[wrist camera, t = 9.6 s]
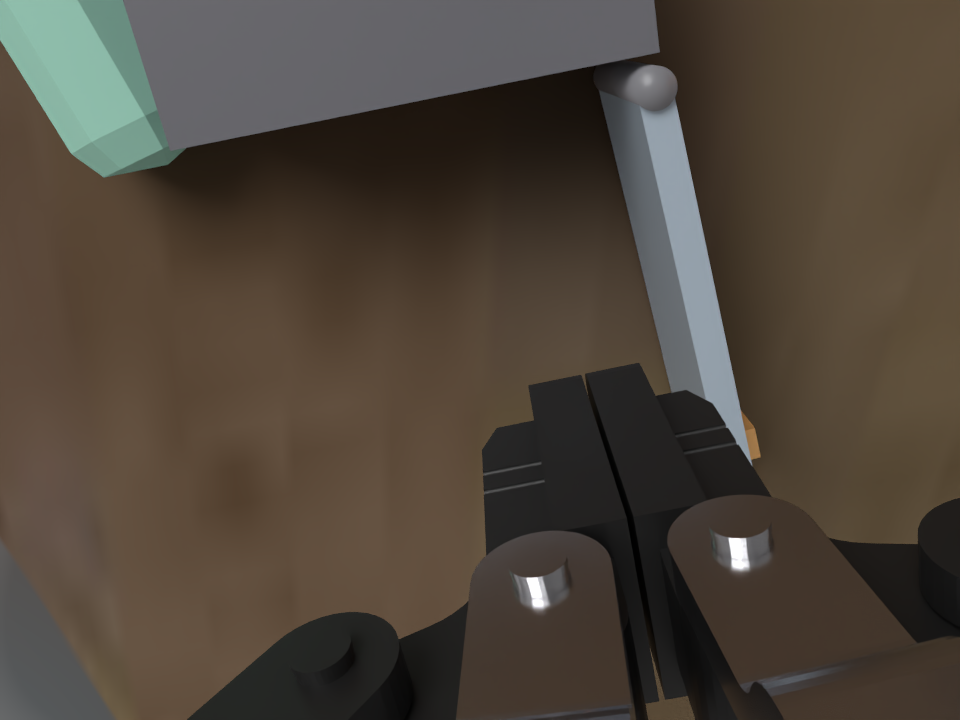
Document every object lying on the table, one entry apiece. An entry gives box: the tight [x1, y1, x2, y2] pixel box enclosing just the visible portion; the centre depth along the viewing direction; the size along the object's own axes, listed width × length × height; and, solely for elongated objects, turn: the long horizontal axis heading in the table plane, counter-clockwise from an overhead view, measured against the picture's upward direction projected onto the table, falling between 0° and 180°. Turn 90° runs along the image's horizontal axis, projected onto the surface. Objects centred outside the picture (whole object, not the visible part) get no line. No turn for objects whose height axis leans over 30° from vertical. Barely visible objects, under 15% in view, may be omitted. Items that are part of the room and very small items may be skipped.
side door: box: [593, 60, 761, 465], centre depth 29 cm, size 14×2×7 cm, turn 17°
